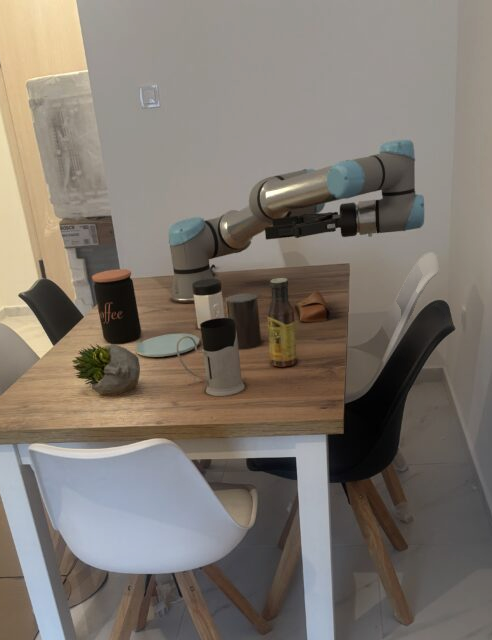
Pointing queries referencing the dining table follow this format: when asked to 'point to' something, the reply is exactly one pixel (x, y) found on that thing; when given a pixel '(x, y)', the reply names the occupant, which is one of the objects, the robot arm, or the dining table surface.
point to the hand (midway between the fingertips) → (269, 228)
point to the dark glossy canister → (245, 319)
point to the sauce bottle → (281, 325)
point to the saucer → (166, 345)
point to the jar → (208, 300)
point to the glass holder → (219, 357)
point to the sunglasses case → (313, 308)
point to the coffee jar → (117, 306)
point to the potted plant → (108, 369)
